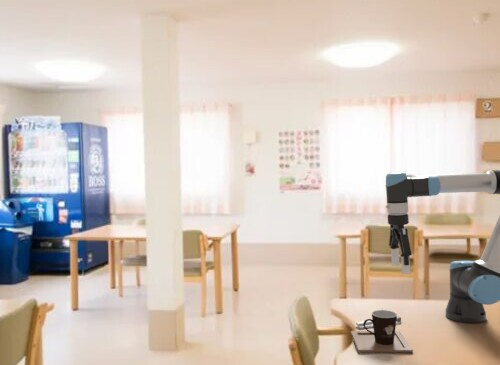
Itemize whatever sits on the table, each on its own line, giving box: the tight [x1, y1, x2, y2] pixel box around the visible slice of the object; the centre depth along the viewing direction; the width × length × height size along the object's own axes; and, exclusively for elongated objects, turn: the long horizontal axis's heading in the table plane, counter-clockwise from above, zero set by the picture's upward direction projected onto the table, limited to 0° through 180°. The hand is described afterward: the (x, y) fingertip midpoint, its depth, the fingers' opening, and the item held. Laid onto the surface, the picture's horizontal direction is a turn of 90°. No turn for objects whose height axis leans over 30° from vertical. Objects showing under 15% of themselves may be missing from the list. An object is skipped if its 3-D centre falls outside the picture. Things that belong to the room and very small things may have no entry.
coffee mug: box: [363, 309, 398, 345], centre depth 170 cm, size 12×9×10 cm
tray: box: [350, 330, 414, 355], centre depth 170 cm, size 18×18×1 cm
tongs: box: [355, 316, 402, 330], centre depth 189 cm, size 19×5×2 cm, turn 106°
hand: (400, 269), depth 181 cm, fingers open, 13 cm apart
